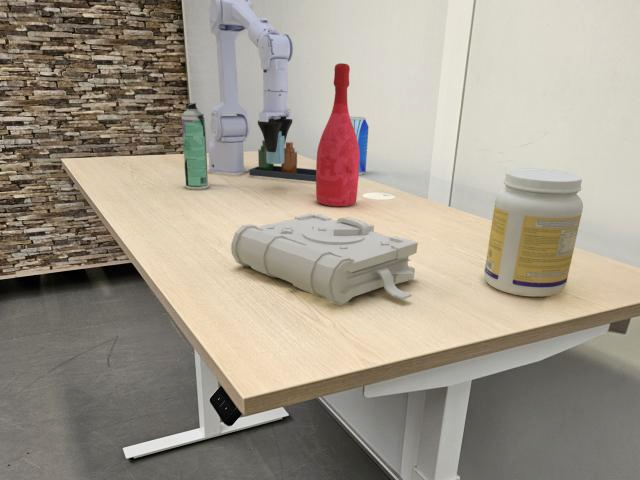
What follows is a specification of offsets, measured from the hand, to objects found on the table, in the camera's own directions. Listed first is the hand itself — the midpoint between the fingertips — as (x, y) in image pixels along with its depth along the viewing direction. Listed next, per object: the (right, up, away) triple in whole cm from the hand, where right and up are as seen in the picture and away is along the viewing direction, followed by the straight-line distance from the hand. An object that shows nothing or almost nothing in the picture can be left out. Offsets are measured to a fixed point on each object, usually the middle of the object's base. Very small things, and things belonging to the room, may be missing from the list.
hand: (275, 150), depth 142 cm
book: (+14, -36, -53) cm, 65 cm away
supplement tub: (+43, -37, -52) cm, 77 cm away
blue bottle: (0, -3, +1) cm, 3 cm away
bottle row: (-1, 0, +21) cm, 21 cm away
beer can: (+20, +1, +28) cm, 34 cm away
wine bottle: (+15, -14, -6) cm, 22 cm away
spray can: (-20, -8, +4) cm, 22 cm away
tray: (+3, -2, +20) cm, 21 cm away
